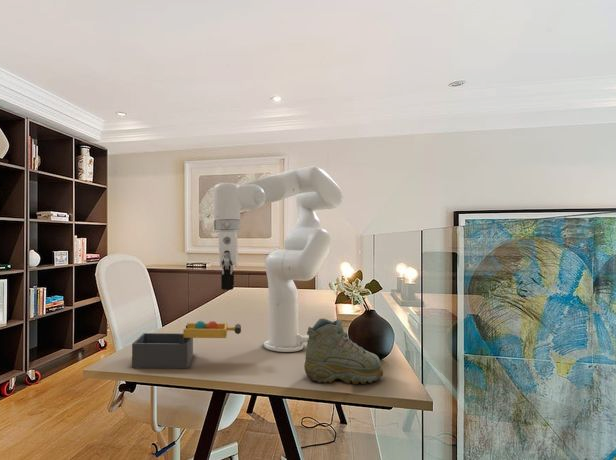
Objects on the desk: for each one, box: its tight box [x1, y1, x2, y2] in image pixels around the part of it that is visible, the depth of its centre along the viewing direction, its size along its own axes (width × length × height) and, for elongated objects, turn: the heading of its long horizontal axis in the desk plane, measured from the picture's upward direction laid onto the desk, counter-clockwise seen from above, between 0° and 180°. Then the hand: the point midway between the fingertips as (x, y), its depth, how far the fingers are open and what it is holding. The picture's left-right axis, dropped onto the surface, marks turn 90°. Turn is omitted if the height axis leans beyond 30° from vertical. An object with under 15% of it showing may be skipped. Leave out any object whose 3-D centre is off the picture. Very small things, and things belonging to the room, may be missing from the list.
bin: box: [131, 324, 194, 369], centre depth 111 cm, size 15×12×9 cm
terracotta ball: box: [207, 320, 218, 329], centre depth 110 cm, size 3×3×3 cm
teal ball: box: [195, 320, 206, 329], centre depth 110 cm, size 3×3×3 cm
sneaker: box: [304, 318, 384, 385], centre depth 97 cm, size 11×19×15 cm, turn 78°
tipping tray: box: [182, 322, 242, 339], centre depth 110 cm, size 16×8×3 cm, turn 88°
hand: (227, 287), depth 109 cm, fingers open, 9 cm apart
